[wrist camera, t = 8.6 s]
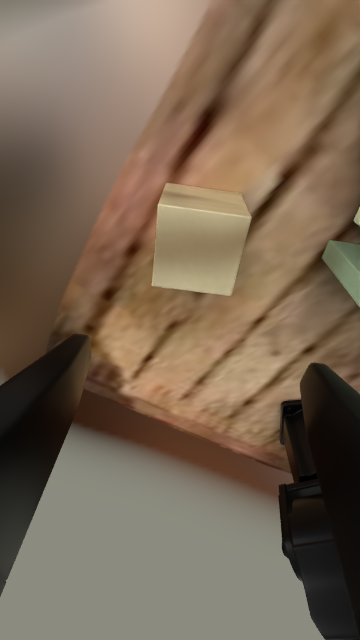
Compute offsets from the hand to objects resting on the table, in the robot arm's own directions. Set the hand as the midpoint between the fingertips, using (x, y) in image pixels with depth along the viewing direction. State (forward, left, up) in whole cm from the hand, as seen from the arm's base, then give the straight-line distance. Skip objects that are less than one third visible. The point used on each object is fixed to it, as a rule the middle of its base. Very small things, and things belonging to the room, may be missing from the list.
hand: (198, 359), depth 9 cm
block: (0, 0, -12) cm, 12 cm away
